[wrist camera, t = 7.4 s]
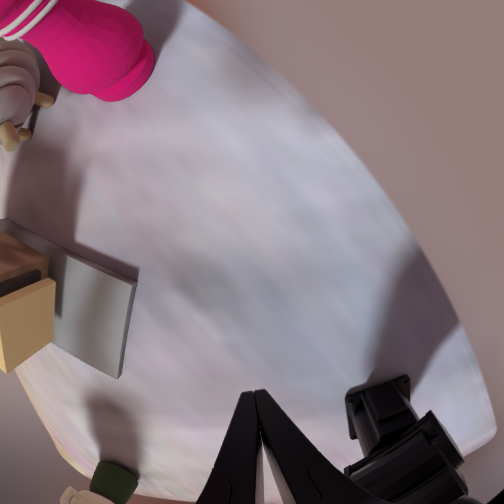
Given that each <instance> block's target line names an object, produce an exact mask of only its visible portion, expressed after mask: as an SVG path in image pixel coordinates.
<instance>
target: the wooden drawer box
mask: <svg viewBox="0 0 504 504" xmlns="http://www.w3.org/2000/svg"><path fill="white" fill-rule="evenodd" d="M46 278H50V279H52V280H54V281H55V282H56V289H55V306H54V340H53V341H51V342H52V343H53V344H55V345H57V346H58V347H60V348H61V349H63V350H65V351H66V352H68V353H69V354H71V355H73V356H74V357H76V358H78V359H80V360H81V361H83V362H85V363H87V364H88V365H90V366H92V367H94V368H96V369H98V370H100V371H101V372H103V373H105V374H107V375H109V376H111V377H113V378H115V379H118V378H119V377H120V376H121V374H122V367H123V360H124V352H125V346H126V339H127V333H128V327H129V322H130V316H131V311H132V305H133V300H134V295H135V290H136V286H137V282H136V281H134V280H132V279H129V278H127V277H125V276H122V275H120V274H118V273H116V272H113V271H111V270H109V269H106V268H104V267H102V266H100V265H98V264H95V263H93V262H91V261H89V260H87V259H85V258H83V257H80V256H78V255H76V254H74V253H72V252H70V251H68V250H66V249H64V248H62V247H60V246H58V245H56V244H54V243H52V242H50V241H48V240H46V239H44V238H42V237H40V236H38V235H36V234H34V233H32V232H30V231H29V230H27V229H25V228H23V227H21V226H19V225H17V224H16V223H14V222H12V221H10V220H8V219H7V218H5V219H0V298H1V297H3V296H5V295H8V294H10V293H12V292H15V291H17V290H19V289H22V288H24V287H26V286H29V285H31V284H34V283H36V282H38V281H41V280H43V279H46Z"/></svg>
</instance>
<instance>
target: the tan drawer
mask: <svg viewBox="0 0 504 504" xmlns="http://www.w3.org/2000/svg"><path fill="white" fill-rule="evenodd" d="M55 289H56V282H55V281H54V280H52V279H50V278H46V279H43V280H41V281H38V282H36V283H34V284H31V285H29V286H26V287H24V288H22V289H19V290H17V291H15V292H12V293H10V294H8V295H5V296H3V297H1V298H0V368H1V369H2V370H3V371H4V372H5V373H6V374H8V373H9V372H11V371H12V370H13V369H15V368H16V367H17V366H19V365H20V364H21V363H23V362H24V361H25V360H27V359H28V358H29V357H31V356H32V355H33V354H35V353H36V352H37V351H39V350H40V349H42V348H43V347H44V346H46V345H47V344H48V343H50V342H51V341H53V340H54V306H55Z"/></svg>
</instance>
